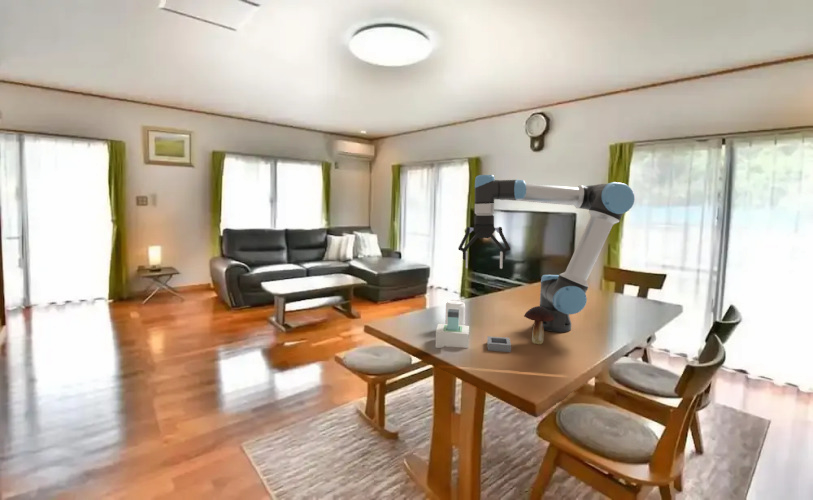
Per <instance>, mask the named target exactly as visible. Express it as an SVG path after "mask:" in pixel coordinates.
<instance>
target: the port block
mask: <svg viewBox="0 0 813 500" xmlns="http://www.w3.org/2000/svg"><path fill="white" fill-rule="evenodd" d="M447 325H448V324H445V323H438V324H437V327H436V330H435V349H436V348H438V349H439V348H440V349H444V347H448V348H465V349H469V342H470V341H469V339H470V325H465V326H464V325H459V329H458V331H455V330H447Z"/></svg>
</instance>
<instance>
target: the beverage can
mask: <svg viewBox="0 0 813 500" xmlns="http://www.w3.org/2000/svg"><path fill="white" fill-rule="evenodd" d="M448 309H457V310H459V325H464V326H466V325H465V324H466V323H465V322H466V319H465V318H466V304H465V301H464V300H459V299H449V300H447V301H446V304H445V322H444V324H448Z"/></svg>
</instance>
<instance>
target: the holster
mask: <svg viewBox="0 0 813 500" xmlns="http://www.w3.org/2000/svg"><path fill="white" fill-rule="evenodd" d="M486 343H487V351H489V352H492V351H493V352H504V353H512V352H511V351H512V343H511V339H510V337H501V336H491V335H490V336H489V335H487V341H486Z"/></svg>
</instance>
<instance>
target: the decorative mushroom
mask: <svg viewBox="0 0 813 500" xmlns="http://www.w3.org/2000/svg"><path fill="white" fill-rule="evenodd" d="M523 317H524V318H526V319H528V320H531V321H534V322H533V327H532V333H531V334H532V335H531V342H532V344H534V345H542V344H543V343H544V339H545V338H544V335H545V334H544V333H545V332H544V331H545V330H544V329H543V321H553V320H554V317H553V314H552V313H551V312H550V311H548V310H547V309H545V308H543V307H541V306H540V305H537V306H533V307H531V308H530V309H528V310H527V311H526V312H525V313H524V315H523Z"/></svg>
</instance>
